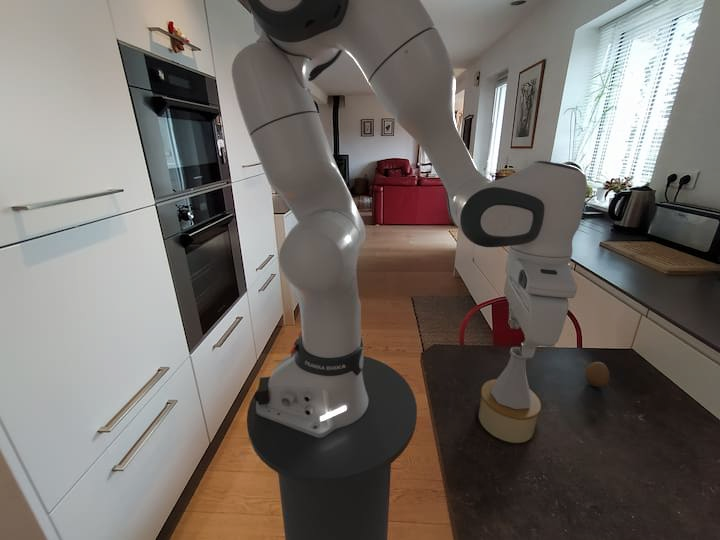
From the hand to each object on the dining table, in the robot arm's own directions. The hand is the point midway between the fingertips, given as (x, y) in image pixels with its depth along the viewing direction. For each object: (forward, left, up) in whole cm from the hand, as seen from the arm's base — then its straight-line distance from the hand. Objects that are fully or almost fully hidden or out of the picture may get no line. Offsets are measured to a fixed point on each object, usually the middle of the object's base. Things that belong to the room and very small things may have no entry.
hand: (519, 339), depth 58 cm
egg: (+22, +16, -19) cm, 33 cm away
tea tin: (0, 0, -19) cm, 19 cm away
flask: (0, 0, -13) cm, 13 cm away
